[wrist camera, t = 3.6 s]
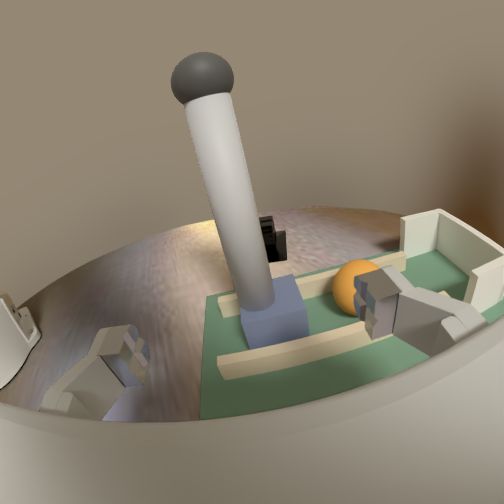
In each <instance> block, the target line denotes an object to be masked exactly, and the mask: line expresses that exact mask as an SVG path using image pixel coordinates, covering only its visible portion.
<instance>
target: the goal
mask: <svg viewBox="0 0 504 504" xmlns="http://www.w3.org/2000/svg"><path fill="white" fill-rule="evenodd" d="M433 250H438V251H439V252H440V253H441V254H443V255H444V256H445V257H446V258H448V259H449V260H450V261H451V262H452V263H454V264H455V265H456V266H457V267H458V268H460V269H461V270H462V271H463V272H464V273H465V274H467V275H468V276H469V282H468V285H467V289H466V293H465V296H464V300H463V302H465V303H468V304H471V305H472V306H473V307H474V308H475V309H476V310H477V311H478V312H479V313H482V312H484V311H485V310H487V309H489V308H490V307H492V306H493V305H495V304H497V303H498V302H500V301H501V300H503V297H504V249H503V248H502V247H501V246H499V245H498V244H496V243H495V242H494V241H492V240H490V239H489V238H488V237H486V236H484V235H483V234H481V233H480V232H478V231H477V230H475V229H474V228H472V227H471V226H469V225H467V224H466V223H464V222H462V221H461V220H459V219H457V218H456V217H454V216H452V215H450V214H449V213H447V212H445V211H444V210H442V209H436V210H431V211H428V212H423V213H419V214H414V215H410V216H406V217H402V218H401V224H400V250H399V252H396V253H392V254H389V255H385V256H382V257H378V258H375V259H371V260H368V261H371V262H373V263H374V264H376V265H377V266H378V267H379V268H382V267H385V266H388V265H393V266H394V267H395V268H396V269H397V270H398V271H399V272H402V271H405V268H406V259H407V258H411V257H414V256H417V255H420V254H423V253H427V252H430V251H433ZM339 269H340V268H338V269H334V270H330V271H326V272H322V273H318V274H314V275H310V276H306V277H302V278H298V279H295V281H296V284H297V286H298V289H299V291H300V294H301V296H302V298H303V300H304V299H308V298H312V297H316V296H320V295H323V294H327V293H331V292H333V290H332V286H333V281H334V278H335V275H336V273H337V272H338V271H339ZM439 294H442V295H445V296H448V297H450V296H449V295H448V294H447V293H446V292H445V291H441V292H439ZM218 305H219V308H220V310H221V313H222V316H223V318H226V317H230V316H235V315H240V304H239V301H238V297H237V294H236V293H234V294H230V295H225V296H220V297H218ZM364 326H365V322H363V321H360V322H357V323H354V324H350V325H347V326H344V327H340V328H337V329H334V330H330V331H327V332H323V333H319V334H316V335H312V336H308V337H304V338H300V339H297V340H292V341H288V342H284V343H280V344H276V345H271V346H267V347H262V348H257V349H253V350H248V351H243V352H238V353H232V354H227V355H221V356H217V367H218V369H219V371H220V373H221V375H222V377H223V379H224V380H230V379H236V378H241V377H247V376H252V375H257V374H262V373H267V372H272V371H276V370H281V369H285V368H289V367H294V366H298V365H302V364H305V363H309V362H313V361H317V360H320V359H324V358H327V357H331V356H334V355H338V354H341V353H344V352H347V351H351V350H354V349H357V348H360V347H363V346H366V345H369V344H372V343H374V342H377V341H380V340H383V339H385V338H388V337H391V336H393V334H390V335H387V336H384V337H381V338H378V339H374V340H371V338H370V337H369V335H368V333H367V332H366V330H365V328H364Z"/></svg>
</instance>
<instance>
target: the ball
mask: <svg viewBox="0 0 504 504" xmlns="http://www.w3.org/2000/svg"><path fill="white" fill-rule="evenodd" d="M377 269H379V267H378V266H377V265H376V264H374V263H373V262H371V261H368V260H362V259H358V260H353V261H350V262H348V263H346V264H345V265H343V266H342V267H341V268H340V269H339V271H338V272H337V273H336V275H335V278H334V281H333V286H332V290H333V296H334V299H335V301H336V303H337V305H338V306H339V307H340V308H341V309H342V310H343V311H345V312H346V313H348V314H351V315H355V316H357V314H356V311H355V307H354V298H353V296H354V294H355V293H356V291H357V290H356V289H355V287H354V277H355V276H357V275H360V274H364V273H367V272H371V271H374V270H377Z"/></svg>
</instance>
